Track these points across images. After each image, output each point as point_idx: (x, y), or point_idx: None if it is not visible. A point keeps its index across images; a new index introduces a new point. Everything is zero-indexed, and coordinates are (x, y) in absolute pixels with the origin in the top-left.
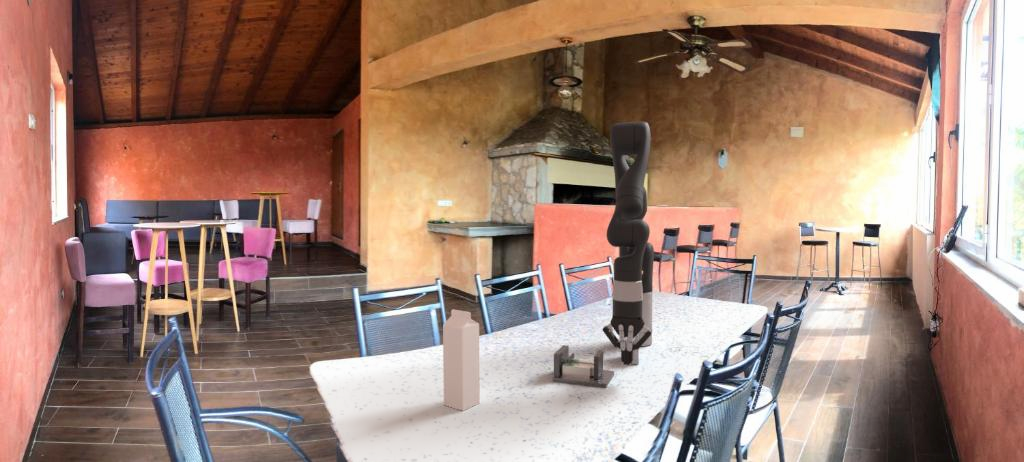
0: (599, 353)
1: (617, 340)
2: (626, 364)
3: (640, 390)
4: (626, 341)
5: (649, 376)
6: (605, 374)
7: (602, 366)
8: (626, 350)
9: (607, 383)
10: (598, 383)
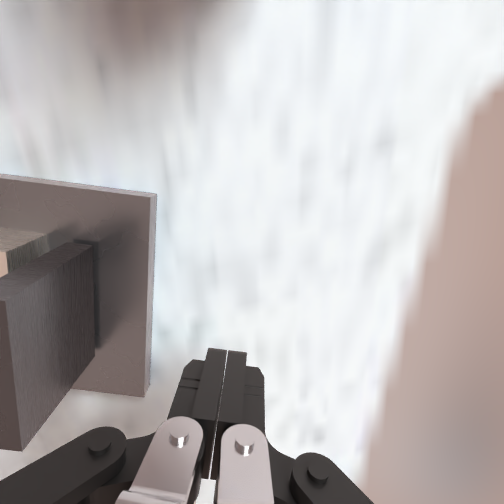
0: (1, 377)
1: (84, 492)
2: (222, 385)
3: (298, 379)
4: (188, 491)
5: (354, 174)
6: (113, 268)
7: (74, 280)
8: (207, 462)
9: (147, 361)
10: (109, 391)
